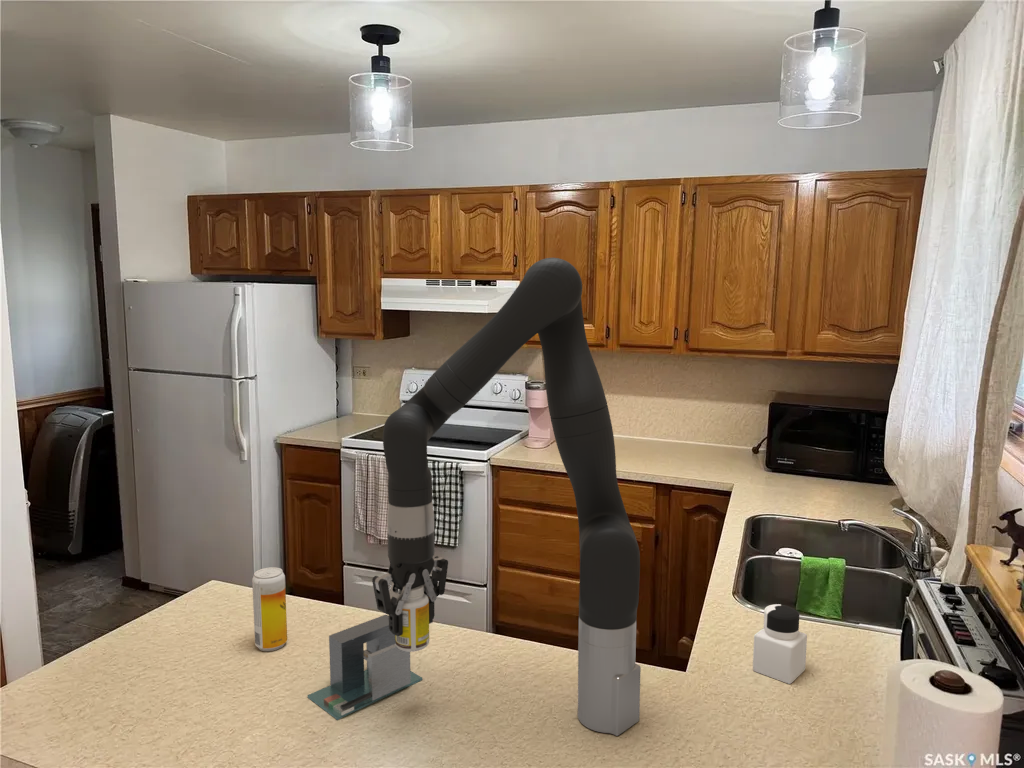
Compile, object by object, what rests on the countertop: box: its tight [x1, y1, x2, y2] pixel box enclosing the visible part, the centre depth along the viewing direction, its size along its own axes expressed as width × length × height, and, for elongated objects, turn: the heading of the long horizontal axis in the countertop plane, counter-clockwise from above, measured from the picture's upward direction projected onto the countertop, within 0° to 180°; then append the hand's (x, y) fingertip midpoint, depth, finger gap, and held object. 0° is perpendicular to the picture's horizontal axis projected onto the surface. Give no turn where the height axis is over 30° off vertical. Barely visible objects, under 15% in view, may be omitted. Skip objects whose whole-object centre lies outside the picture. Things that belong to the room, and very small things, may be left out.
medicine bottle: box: [752, 603, 808, 685], centre depth 132 cm, size 7×7×12 cm
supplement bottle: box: [395, 585, 430, 653], centre depth 118 cm, size 6×6×10 cm
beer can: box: [251, 566, 288, 652], centre depth 142 cm, size 6×6×15 cm
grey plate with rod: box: [340, 644, 411, 710], centre depth 125 cm, size 8×14×8 cm, turn 135°
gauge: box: [306, 614, 423, 721], centre depth 126 cm, size 10×18×10 cm, turn 135°
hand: (412, 627), depth 118 cm, fingers closed on supplement bottle, 5 cm apart
